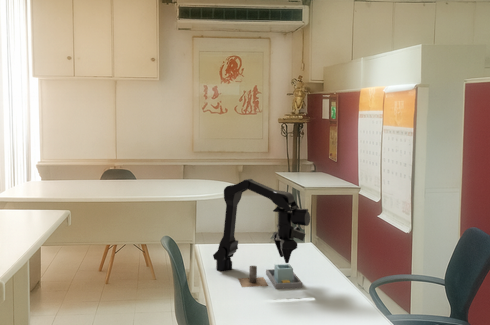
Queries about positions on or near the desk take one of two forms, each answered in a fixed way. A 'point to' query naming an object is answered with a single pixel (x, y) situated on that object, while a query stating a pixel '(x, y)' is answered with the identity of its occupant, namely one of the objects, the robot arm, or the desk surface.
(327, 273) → the desk surface
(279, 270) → the sleeve
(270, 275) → the tray
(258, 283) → the stake
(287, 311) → the desk surface
